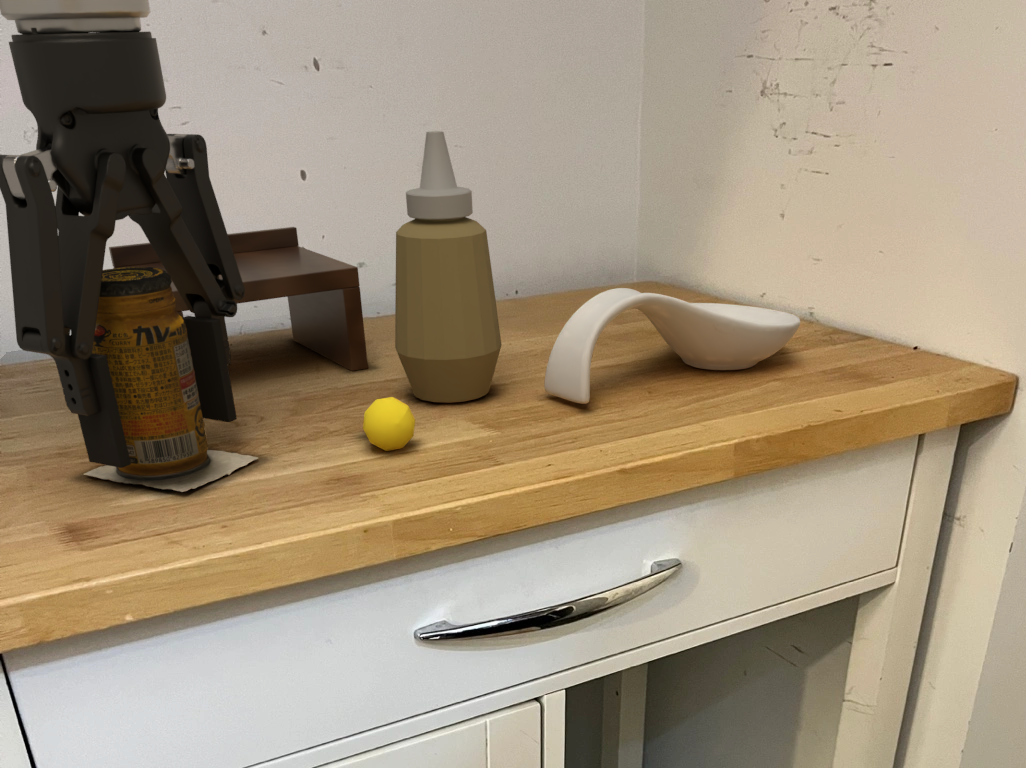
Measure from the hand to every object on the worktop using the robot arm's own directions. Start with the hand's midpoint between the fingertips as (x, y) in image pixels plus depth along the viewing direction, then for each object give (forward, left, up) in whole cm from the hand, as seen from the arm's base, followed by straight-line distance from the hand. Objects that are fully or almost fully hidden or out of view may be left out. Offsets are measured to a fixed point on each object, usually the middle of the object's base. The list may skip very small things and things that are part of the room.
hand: (166, 439), depth 70 cm
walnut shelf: (-12, +22, -2) cm, 25 cm away
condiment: (0, 0, -2) cm, 2 cm away
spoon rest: (+22, +34, -2) cm, 40 cm away
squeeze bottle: (+8, +22, -2) cm, 24 cm away
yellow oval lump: (+10, +10, -2) cm, 14 cm away
